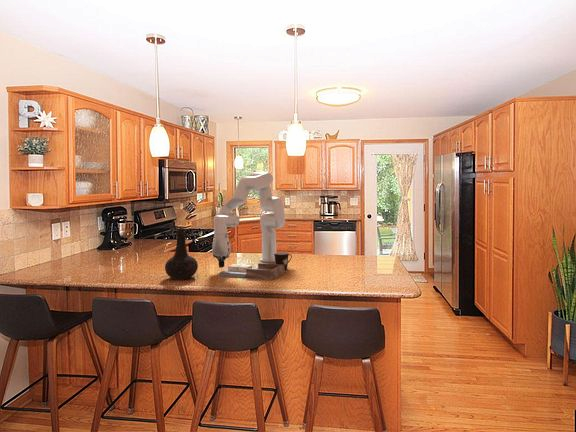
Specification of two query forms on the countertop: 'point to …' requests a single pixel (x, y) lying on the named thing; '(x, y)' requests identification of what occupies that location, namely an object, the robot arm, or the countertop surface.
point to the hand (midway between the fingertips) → (221, 267)
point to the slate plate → (234, 273)
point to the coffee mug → (282, 259)
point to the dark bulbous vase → (181, 260)
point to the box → (265, 271)
